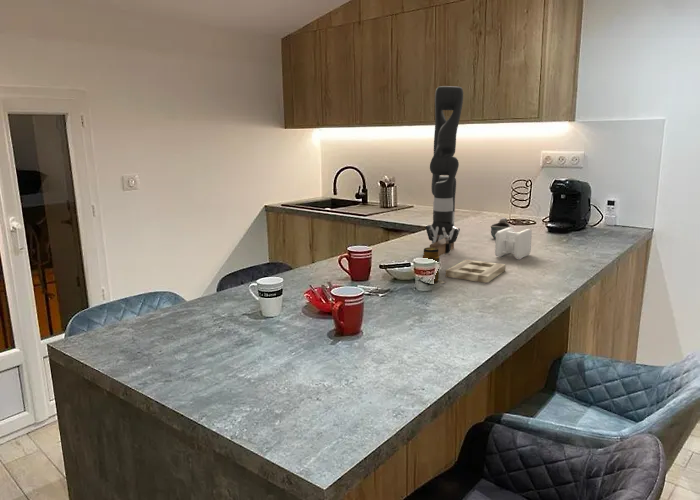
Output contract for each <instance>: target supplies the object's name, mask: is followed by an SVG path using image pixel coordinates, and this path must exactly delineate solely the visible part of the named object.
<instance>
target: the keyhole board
mask: <svg viewBox="0 0 700 500" xmlns="http://www.w3.org/2000/svg"><path fill="white" fill-rule="evenodd" d="M506 265H507V264H505V263H497V262H496V263H495V262H489V261H484V260H482V261H481V260H473V259H464V260H462V261H461V262H459V263H457V264H454V265H453V266H451V267H449V268H447V269H445V278H451V279H458V280H465V281H471V282H479V283H484V284H488V283H490V282H491V281H493V280H494V279H495V278H497V277H498V276H500V275H501V274H502V273H504V272H506V267H507V266H506Z"/></svg>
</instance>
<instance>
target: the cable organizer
mask: <svg viewBox="0 0 700 500" xmlns="http://www.w3.org/2000/svg"><path fill="white" fill-rule="evenodd" d="M532 235H533V230H532V228H531V229H530V228H526V229H523V230H522V231H518V232H516V231H515V229H514V227H510V228H509V227H508V228H505V229H503V230H500V231H498V232H497V233H496V234H495V237H496V239H495V241H494V242H495V245H494V248H495V249H494V255H495V256H496V257H498V258H501V257H503V256H505V255H508V254H512V256H514V258H515V259H517V260H519V261H520V260H522V259H523V258H524V257H525V258H526V257H528V256H529V255H530V254H531V251H532V237H533V236H532Z"/></svg>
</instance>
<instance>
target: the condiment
mask: <svg viewBox="0 0 700 500" xmlns="http://www.w3.org/2000/svg"><path fill="white" fill-rule="evenodd" d="M438 251H439V250H438V249H437V248H433V247H430V246H428V247H424V248H423V254H422V258H428V259H433V260H435V261H437V262H439V263H440V256H438V254H439V253H438ZM439 271H440V268H439V269H438V271H437V273H436V275H435V279H434V285H441V284H446V283H447V281H444V280H442V279H439V277H440V272H439Z"/></svg>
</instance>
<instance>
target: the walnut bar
mask: <svg viewBox="0 0 700 500" xmlns="http://www.w3.org/2000/svg"><path fill="white" fill-rule="evenodd" d="M429 247H433V248H437V249H438V250H439V251H438V253H439V254H438V256H439V257H441V256H442V255H446V256H447V255H450V254H451V251H453V250H454V249H455V242H454V243H451V250H450V252H449V253H445V250H446V240H445V238H444V239H441V240H439V241H437V242H435V243H433V244H432V243H431V244H429Z"/></svg>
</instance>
